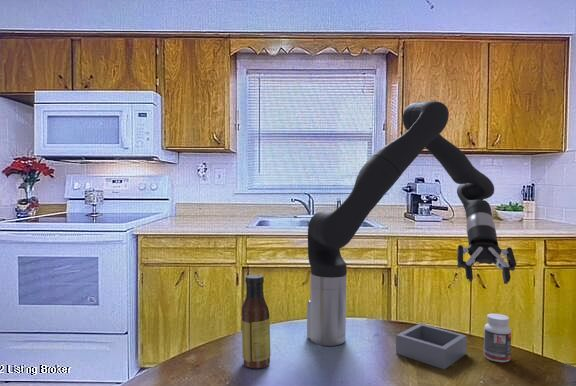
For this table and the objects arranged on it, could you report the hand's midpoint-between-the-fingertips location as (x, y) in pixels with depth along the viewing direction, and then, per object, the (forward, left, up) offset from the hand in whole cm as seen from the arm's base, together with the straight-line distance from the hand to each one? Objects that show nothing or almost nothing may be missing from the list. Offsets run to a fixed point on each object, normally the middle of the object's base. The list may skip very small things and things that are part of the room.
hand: (488, 281), depth 111 cm
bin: (-6, -19, -16) cm, 25 cm away
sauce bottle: (-31, -53, -16) cm, 64 cm away
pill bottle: (+6, -10, -16) cm, 20 cm away
